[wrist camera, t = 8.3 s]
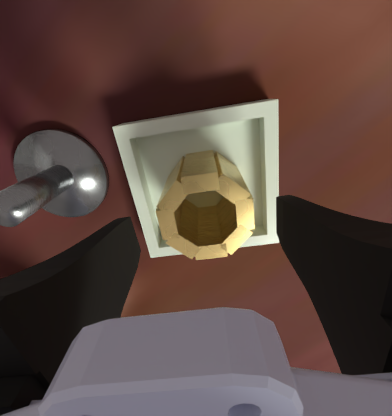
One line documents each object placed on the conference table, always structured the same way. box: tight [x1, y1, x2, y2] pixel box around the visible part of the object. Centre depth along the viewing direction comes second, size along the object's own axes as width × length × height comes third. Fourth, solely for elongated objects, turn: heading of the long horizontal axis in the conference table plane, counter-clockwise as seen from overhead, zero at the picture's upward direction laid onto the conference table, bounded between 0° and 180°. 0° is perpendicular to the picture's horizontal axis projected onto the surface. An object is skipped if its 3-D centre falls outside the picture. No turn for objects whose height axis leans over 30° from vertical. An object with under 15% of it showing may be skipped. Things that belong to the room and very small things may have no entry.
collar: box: [156, 150, 255, 260], centre depth 15 cm, size 5×6×5 cm
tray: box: [112, 99, 279, 258], centre depth 16 cm, size 10×10×2 cm
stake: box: [0, 129, 109, 227], centre depth 14 cm, size 6×6×6 cm
